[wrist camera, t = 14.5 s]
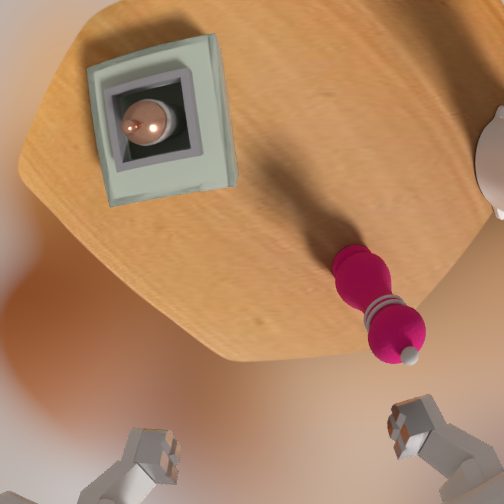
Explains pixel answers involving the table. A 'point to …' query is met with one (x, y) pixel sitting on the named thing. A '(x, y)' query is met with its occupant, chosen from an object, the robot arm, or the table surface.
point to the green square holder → (173, 150)
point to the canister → (153, 122)
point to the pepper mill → (378, 305)
